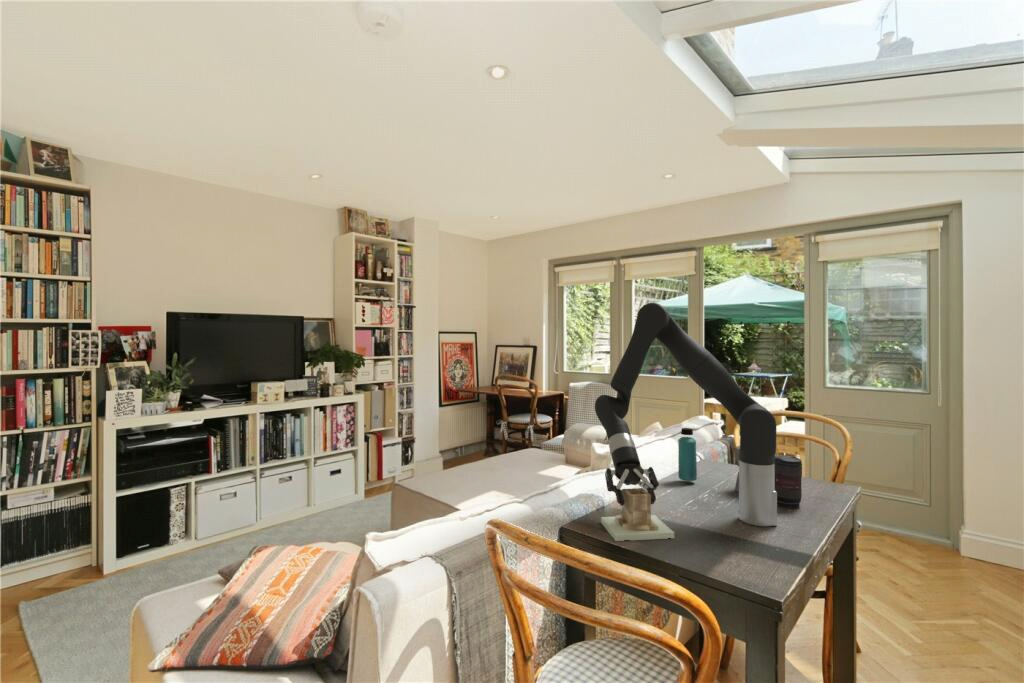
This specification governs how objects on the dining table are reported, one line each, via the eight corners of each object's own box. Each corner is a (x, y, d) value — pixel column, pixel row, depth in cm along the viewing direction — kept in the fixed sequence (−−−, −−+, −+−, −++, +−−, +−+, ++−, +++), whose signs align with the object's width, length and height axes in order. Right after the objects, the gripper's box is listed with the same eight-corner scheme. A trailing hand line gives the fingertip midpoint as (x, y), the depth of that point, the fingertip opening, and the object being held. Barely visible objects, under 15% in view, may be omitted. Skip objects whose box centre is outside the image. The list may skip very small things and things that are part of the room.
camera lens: (786, 510, 147) (786, 461, 147) (767, 501, 155) (766, 455, 155) (808, 508, 149) (808, 460, 149) (788, 500, 157) (788, 454, 157)
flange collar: (645, 517, 137) (645, 486, 137) (658, 530, 128) (658, 496, 128) (615, 519, 136) (615, 487, 136) (625, 531, 127) (625, 497, 127)
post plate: (654, 520, 139) (654, 494, 139) (674, 538, 126) (674, 509, 126) (600, 522, 138) (600, 496, 138) (615, 541, 125) (615, 512, 125)
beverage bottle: (698, 485, 172) (698, 430, 172) (679, 484, 174) (679, 429, 174) (695, 480, 179) (695, 427, 179) (676, 479, 180) (676, 426, 180)
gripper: (602, 445, 139) (615, 498, 127) (650, 444, 140) (667, 496, 129) (597, 459, 144) (609, 511, 133) (643, 458, 146) (658, 509, 134)
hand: (637, 503), depth 131 cm, fingers open, 8 cm apart
